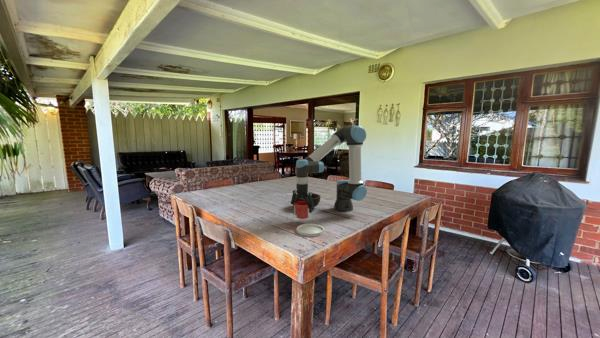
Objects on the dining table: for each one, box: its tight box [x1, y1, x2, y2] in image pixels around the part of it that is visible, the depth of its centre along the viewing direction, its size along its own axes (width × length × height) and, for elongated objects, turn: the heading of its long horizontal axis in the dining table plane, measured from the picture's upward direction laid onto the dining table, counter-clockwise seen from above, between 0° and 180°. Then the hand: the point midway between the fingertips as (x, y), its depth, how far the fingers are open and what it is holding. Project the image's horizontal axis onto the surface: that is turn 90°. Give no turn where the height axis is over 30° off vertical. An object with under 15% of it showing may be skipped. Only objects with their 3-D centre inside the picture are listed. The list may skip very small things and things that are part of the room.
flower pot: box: [294, 201, 309, 220], centre depth 173 cm, size 11×11×10 cm
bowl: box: [295, 192, 322, 209], centre depth 208 cm, size 22×22×10 cm
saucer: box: [296, 223, 325, 238], centre depth 158 cm, size 17×17×2 cm
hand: (302, 215), depth 174 cm, fingers closed on flower pot, 10 cm apart
